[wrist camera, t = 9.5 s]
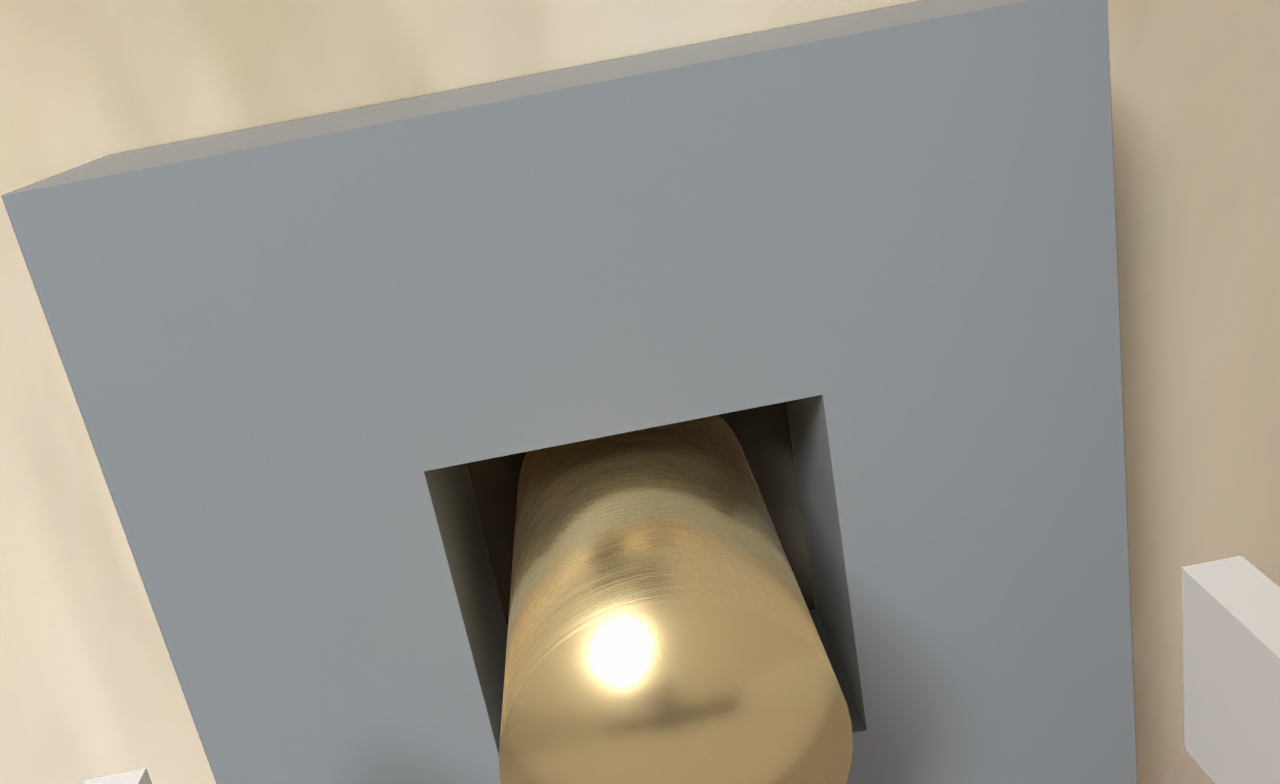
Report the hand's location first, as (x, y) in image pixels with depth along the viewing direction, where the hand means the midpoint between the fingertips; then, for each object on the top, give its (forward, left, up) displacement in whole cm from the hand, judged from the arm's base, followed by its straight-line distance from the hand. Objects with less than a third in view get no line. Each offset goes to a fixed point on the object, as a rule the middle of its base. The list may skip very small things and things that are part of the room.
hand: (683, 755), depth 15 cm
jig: (0, 0, -8) cm, 8 cm away
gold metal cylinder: (0, 0, -8) cm, 8 cm away
